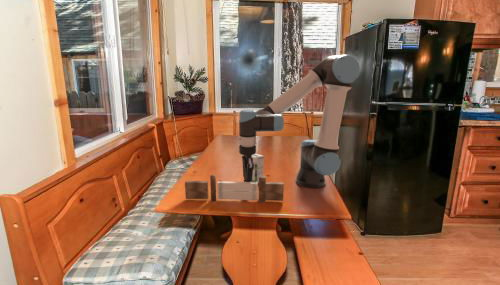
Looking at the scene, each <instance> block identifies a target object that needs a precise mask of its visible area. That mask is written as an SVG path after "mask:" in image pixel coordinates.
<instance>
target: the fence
mask: <svg viewBox="0 0 500 285" xmlns="http://www.w3.org/2000/svg"><path fill="white" fill-rule="evenodd" d="M209 177H210V201H211V202H212V203H213V202H216V201H217V180H216V178H217V175H216V174H210V176H209ZM284 186H285V183H284V182H280V181H279V182H275V181H272V182H269V181H267V176H266V175H265V174H263V175H259V183H258V203H259V204H265V203H266V201H271V202H272V201H273V202H282V201H284V193H285V192H284V189H285V188H284ZM184 190H185V191H184V192H185V194H184V195H185V199H186V200H208V199H209V181H208V180H185V182H184Z"/></svg>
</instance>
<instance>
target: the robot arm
mask: <svg viewBox="0 0 500 285" xmlns="http://www.w3.org/2000/svg"><path fill="white" fill-rule="evenodd" d="M360 72H361V66H360V62H359V61H358V59H357V58H356V57H354V56H353V55H350V54H338V55H329V56H327V57H325V58H324V59H322V60H321V61H320V62H318V63H317V64H316V65H315V66H313V67H312V68H311V69H310V70H308V74H306V75H305V76H303V78H301V79H300V80H299V81H298V82H296V83H295V84H294V85H292V86H291V87H290V88H288V89H287V90H285V91H284V92H282V94H281V95H279V96H278V97H277V98H275V99H274V100H272V102H269V104H268V105H267V106H265V107H263V108H260V109H258V110H255V109H242V110H240V111H239V118H238V125H239V126H238V128H239V130H238V132H239V134H238V135H239V137H238V139H237V140H238V141H239V145H238V147H239V149H238V152H239V154H240V155H241V162H242V176H243V182H251V181H252V174H253V166H254V164H252V162H253V158H252V155H254V154H257V132H259V133H260V132H279V131H283V129H284V126H285V120H284V119H285V118H284V116H283V113H286V111H288V110H289V109H291V108H292V107H293V106H294V105H295V104H297V103H299V101H302V99H303V98H305V97H306V96H307V95H309V94H310V93H311V92H312V91H314V90H315V89H317V88H318V87H319V88H321V87H322V86H325V87H326V95H325V100H324V105H323V112H322V117H321V122H320V127H319V132H318V136H317V139H305V140H302V142H301V146H300V164H299V166H300V167H299V170H298V172H297V175H296V179H295V181H296V183H297V185H299V186H302V187H305V188H311V189H312V188H313V189H319V188H322V187H324V186H326V177H325V176H327V177H328V176H331V175H333V174H335V173H336V172H337V171H338V170H339V169H340V167H341V164H342V161H341V158H340V156H339V151H340V146H339V145H338V139H339V138H338V137H339V133H340V129H341V128H340V127H341V124H342V118H343V115H344V114H343V113H344V108H345V104H346V99H347V93H348V91H350V90H351V89H352V88H353V87H352V86H353V82H354V81H356V80H358V78H359V75H360Z"/></svg>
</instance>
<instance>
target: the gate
mask: <svg viewBox="0 0 500 285" xmlns="http://www.w3.org/2000/svg"><path fill="white" fill-rule="evenodd" d="M216 197H217V200H239V201H259V183H258V182H244V181H225V180H223V181H222V180H220V181H219V180H217V181H216Z"/></svg>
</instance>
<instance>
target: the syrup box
mask: <svg viewBox="0 0 500 285" xmlns="http://www.w3.org/2000/svg"><path fill="white" fill-rule="evenodd" d="M252 158H253V162H252V164H254V166H253V174H252V181H251V182H258V184H259V175H264V155H262V154H258V153H255V154H254V155H252Z"/></svg>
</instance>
